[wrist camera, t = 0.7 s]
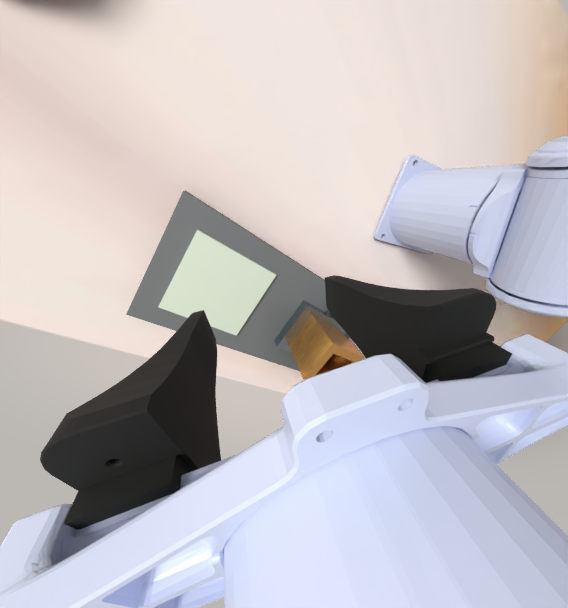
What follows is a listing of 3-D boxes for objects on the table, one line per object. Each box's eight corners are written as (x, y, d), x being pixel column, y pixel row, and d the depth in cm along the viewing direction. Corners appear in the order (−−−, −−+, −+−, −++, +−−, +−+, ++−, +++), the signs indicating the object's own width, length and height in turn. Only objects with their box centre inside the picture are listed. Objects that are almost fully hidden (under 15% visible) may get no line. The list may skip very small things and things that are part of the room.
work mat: (366, 306, 28) (373, 312, 27) (313, 370, 32) (317, 377, 30) (185, 190, 17) (182, 190, 16) (130, 307, 20) (125, 316, 19)
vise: (364, 297, 26) (389, 315, 22) (316, 356, 29) (330, 381, 25) (325, 270, 23) (345, 286, 19) (274, 340, 25) (283, 365, 22)
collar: (339, 329, 26) (364, 357, 21) (316, 356, 27) (335, 388, 23) (311, 314, 23) (333, 343, 19) (288, 345, 25) (303, 378, 20)
